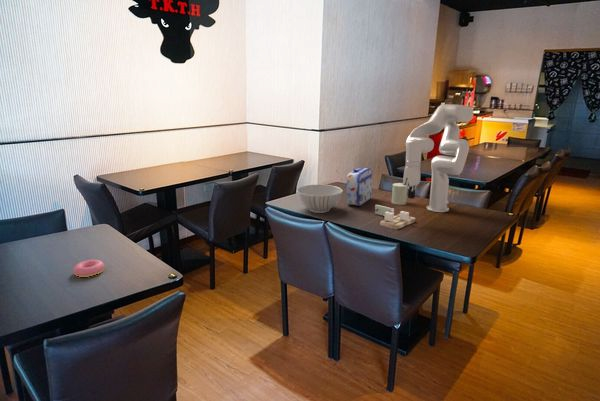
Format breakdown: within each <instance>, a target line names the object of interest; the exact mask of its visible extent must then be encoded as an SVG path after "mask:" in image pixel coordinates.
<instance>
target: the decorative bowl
mask: <svg viewBox="0 0 600 401" xmlns="http://www.w3.org/2000/svg"><path fill="white" fill-rule="evenodd" d="M343 192H344V190H343V189H342V188H341V187H339V186H336V185H330V184H310V185H309V184H308V185H304V186H300V187H298V188H297V189H296V194H297V197H298V199H299V201H300V202H301V204H302V205H303V206H304V207H305V208H307V209H308V211H309V212H312V213H315V214H316V213H317V214H323V213H328V212H330V210H331V209H332V208H334V207H335V206H336V205H337V204H338V203H339V202H340V200H341V198H342V196H343Z"/></svg>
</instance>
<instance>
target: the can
mask: <svg viewBox="0 0 600 401" xmlns="http://www.w3.org/2000/svg"><path fill="white" fill-rule="evenodd" d="M407 200H408V189H406V185H403V182H394V183H392V192H391V204H394V205H398V206H399V205H402V206H403V205H407Z"/></svg>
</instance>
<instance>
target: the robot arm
mask: <svg viewBox="0 0 600 401" xmlns="http://www.w3.org/2000/svg"><path fill="white" fill-rule="evenodd" d="M473 117H474V109H473V108H472V107H471V106H470V105H469V106H468V105H462V104H452V103H451V104H448V103H447V104H440V105H439V106H437V108H436V109H435V110H434V112H433V113H432V115H431V116H430V118H429V119H428V120H427V121H426V122H425V123H422V124H421V125H419V126H417V127H416V128H414V129H413V130H412V131H411V132H410V133H409V135H408V136H407V138H406V141H405V147H406V149H405V165H404V166H405V167H404V171H403V179H402V183H403V185H406V189H407V199H415V197H416V190H417V187H418V185H419V184H420V182H421V167H422V166H421V165H422V164H421V163H422V154H424V153H429V152H431V151H432V150H434V146H435V142H434V140H433V139H432V138H429V137H427V136H432V135H436V134H438V133H441V131H442V130H444V131H443V133H442V138H441V141H440V143H439V147H438V151H439V153H440V154H443V155H436V156H433V157H432V159H431V161H430V162H431V163H430V167H431V184H430V194H429V205H427V206H426V210H427V211H430V212H433V213H446V212H449V211H450V208H449V207H448V204H449V200H448V195H449V194H448V193H449V185H450V184H449V182H450V179H449V175H455V176H457V175H458V176H459V175H461V173H462V172H463V169H464V167H465V164H466V161H467V157H468V154H469V150H470V144H469V143H470V142H468V140H466V139H463V138H459V136H460V132H461V130H460V127H459V124H457V122H459V123H469V122H471V120H472V119H473ZM453 156H454V157H453ZM448 174H449V175H448Z"/></svg>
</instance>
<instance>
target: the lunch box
mask: <svg viewBox="0 0 600 401" xmlns="http://www.w3.org/2000/svg"><path fill="white" fill-rule="evenodd" d="M372 170H373V169H372V168H371V167H359V168H356V169H355V168H354V169H353V170H352V171H351V172H348V174H347V175H346V204H347V205H351V206H358V207H361V206H363V204H366V202H368V201H369V200H371V198H372V194H373V192H372V191H373V187H372V186H373V182H372V181H373V171H372Z"/></svg>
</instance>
